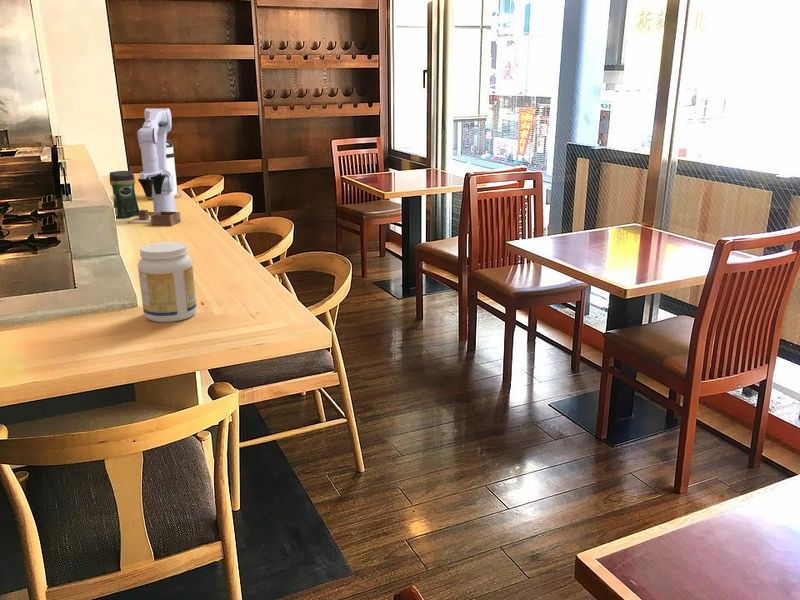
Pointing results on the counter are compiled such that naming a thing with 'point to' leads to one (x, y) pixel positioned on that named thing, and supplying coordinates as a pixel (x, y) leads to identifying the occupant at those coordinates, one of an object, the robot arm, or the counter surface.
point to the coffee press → (171, 165)
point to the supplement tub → (166, 282)
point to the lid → (141, 218)
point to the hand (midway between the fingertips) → (153, 195)
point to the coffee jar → (124, 194)
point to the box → (165, 218)
